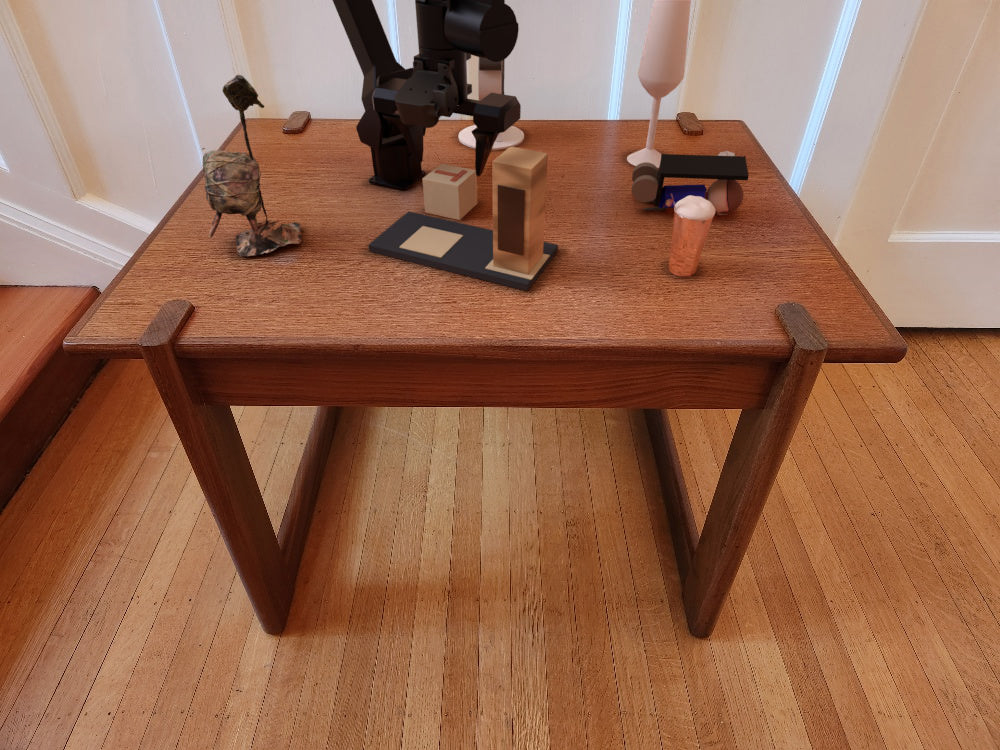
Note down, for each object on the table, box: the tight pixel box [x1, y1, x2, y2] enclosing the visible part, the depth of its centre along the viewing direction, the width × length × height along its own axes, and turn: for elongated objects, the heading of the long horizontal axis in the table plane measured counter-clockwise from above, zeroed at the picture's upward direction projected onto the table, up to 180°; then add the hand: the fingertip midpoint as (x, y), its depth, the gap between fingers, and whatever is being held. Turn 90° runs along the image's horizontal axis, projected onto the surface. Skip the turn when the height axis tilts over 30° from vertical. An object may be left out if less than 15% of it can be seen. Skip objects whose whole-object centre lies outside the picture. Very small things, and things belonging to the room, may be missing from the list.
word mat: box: [367, 211, 559, 292], centre depth 81 cm, size 22×10×1 cm, turn 65°
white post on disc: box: [457, 57, 525, 151], centre depth 105 cm, size 12×11×15 cm
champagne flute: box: [626, 0, 692, 169], centre depth 95 cm, size 7×7×24 cm
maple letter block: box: [491, 146, 549, 275], centre depth 73 cm, size 5×5×13 cm
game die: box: [716, 150, 736, 156], centre depth 99 cm, size 4×4×3 cm
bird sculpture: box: [201, 74, 304, 258], centre depth 77 cm, size 8×11×20 cm
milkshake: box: [668, 194, 716, 277], centre depth 75 cm, size 4×5×10 cm
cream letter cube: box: [421, 163, 478, 221], centre depth 89 cm, size 6×6×5 cm
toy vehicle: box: [631, 153, 750, 216], centre depth 88 cm, size 7×8×15 cm
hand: (448, 169), depth 87 cm, fingers open, 9 cm apart
